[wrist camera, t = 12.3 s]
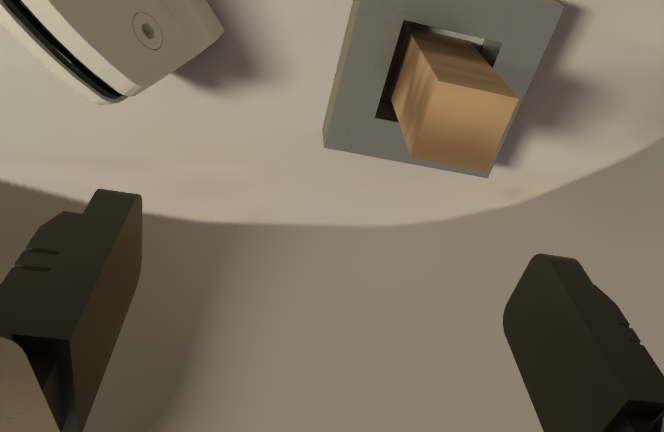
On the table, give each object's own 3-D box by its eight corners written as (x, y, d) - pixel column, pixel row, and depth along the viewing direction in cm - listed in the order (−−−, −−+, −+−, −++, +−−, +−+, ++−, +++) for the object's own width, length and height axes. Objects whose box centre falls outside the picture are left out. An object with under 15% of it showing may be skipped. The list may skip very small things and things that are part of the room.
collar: (365, -51, 32) (370, -42, 30) (546, -5, 34) (564, 6, 32) (322, 128, 39) (324, 147, 36) (476, 158, 41) (487, 178, 38)
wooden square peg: (406, 26, 35) (438, 80, 27) (469, 41, 36) (519, 98, 27) (387, 89, 37) (411, 157, 29) (446, 102, 38) (485, 171, 30)
